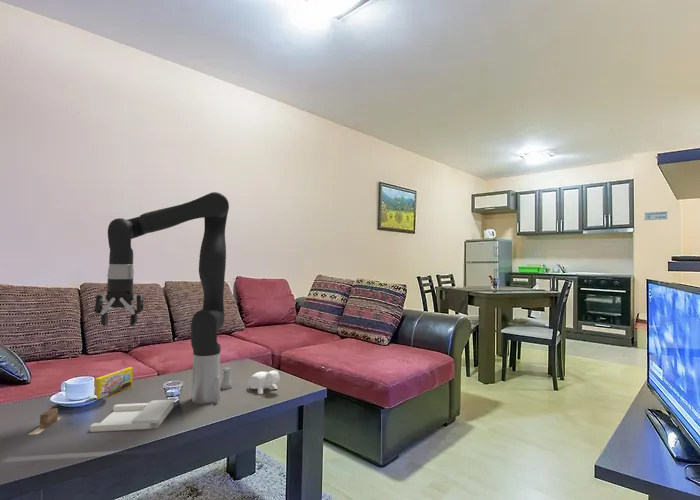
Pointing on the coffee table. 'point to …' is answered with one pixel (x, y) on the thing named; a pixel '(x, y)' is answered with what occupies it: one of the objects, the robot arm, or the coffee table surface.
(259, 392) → the white elephant figurine
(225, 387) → the rook chess piece
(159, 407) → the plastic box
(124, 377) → the candy box
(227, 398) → the coffee table surface
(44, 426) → the cover plate
